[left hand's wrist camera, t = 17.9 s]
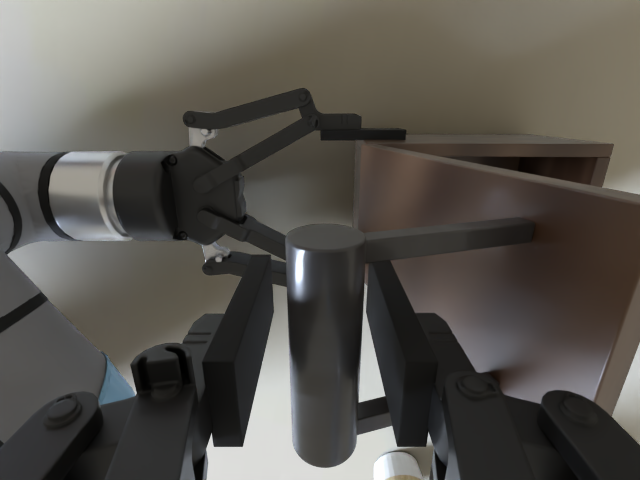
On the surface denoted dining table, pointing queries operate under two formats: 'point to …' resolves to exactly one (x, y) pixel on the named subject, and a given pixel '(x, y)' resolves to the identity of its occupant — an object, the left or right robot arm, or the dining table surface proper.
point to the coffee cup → (397, 467)
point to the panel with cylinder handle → (465, 286)
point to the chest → (506, 155)
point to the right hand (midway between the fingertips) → (397, 196)
